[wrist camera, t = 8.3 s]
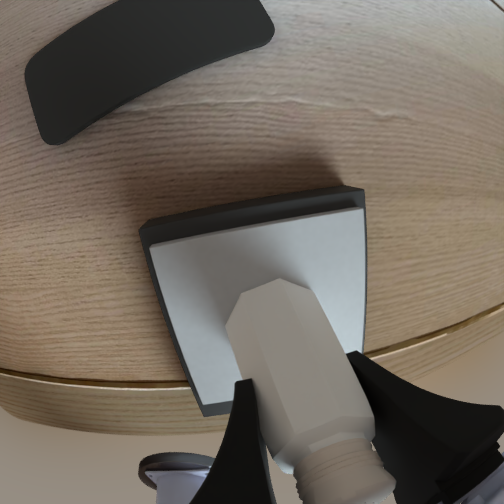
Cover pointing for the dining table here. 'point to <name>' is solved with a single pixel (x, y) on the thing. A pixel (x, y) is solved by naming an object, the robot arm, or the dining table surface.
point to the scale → (255, 273)
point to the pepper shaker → (307, 396)
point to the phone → (134, 56)
